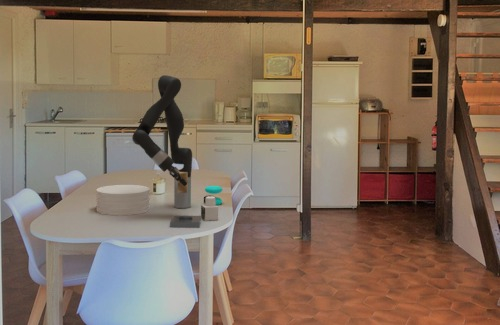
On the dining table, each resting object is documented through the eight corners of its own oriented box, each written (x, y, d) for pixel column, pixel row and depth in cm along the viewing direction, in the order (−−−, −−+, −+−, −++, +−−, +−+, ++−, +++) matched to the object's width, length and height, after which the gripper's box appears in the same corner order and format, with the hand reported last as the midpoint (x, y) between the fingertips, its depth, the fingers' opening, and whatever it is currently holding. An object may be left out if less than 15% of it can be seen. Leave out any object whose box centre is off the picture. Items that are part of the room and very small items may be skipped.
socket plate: (169, 227, 266) (169, 222, 266) (172, 220, 280) (172, 215, 280) (199, 227, 267) (199, 222, 266) (200, 220, 281) (200, 215, 280)
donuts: (225, 187, 320) (208, 188, 316) (224, 204, 321) (208, 206, 317) (218, 185, 329) (202, 185, 325) (218, 201, 330) (202, 202, 326)
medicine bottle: (200, 218, 287) (201, 195, 285) (214, 217, 289) (214, 194, 288) (204, 221, 280) (204, 197, 278) (218, 220, 282) (218, 196, 281)
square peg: (177, 192, 285) (177, 173, 283) (178, 191, 289) (178, 171, 288) (186, 192, 285) (186, 173, 284) (187, 191, 289) (187, 172, 288)
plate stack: (155, 205, 316) (155, 185, 314) (140, 216, 288) (140, 194, 287) (107, 203, 319) (107, 183, 317) (88, 214, 291) (88, 192, 289)
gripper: (166, 157, 277) (190, 181, 279) (169, 153, 291) (192, 176, 293) (155, 167, 278) (180, 191, 280) (159, 163, 292) (182, 186, 294)
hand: (186, 183), depth 287 cm, fingers closed on square peg, 4 cm apart
